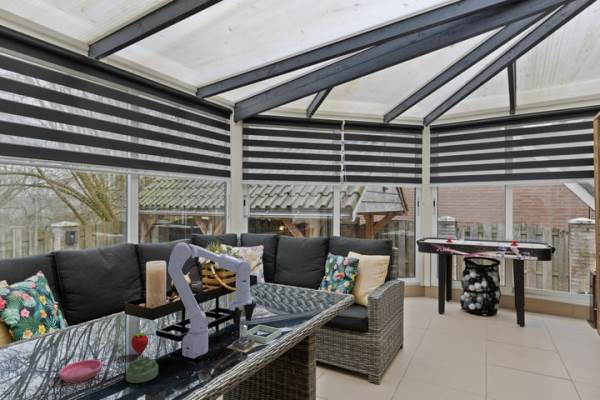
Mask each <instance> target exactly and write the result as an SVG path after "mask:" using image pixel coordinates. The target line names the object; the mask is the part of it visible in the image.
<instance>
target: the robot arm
mask: <svg viewBox="0 0 600 400" xmlns="http://www.w3.org/2000/svg"><path fill="white" fill-rule="evenodd" d="M190 257H191V259H194V258H195V259H196V258H199V257H200V258H202V259H205V260H209V261H211V262H215V263H217V266H218V267H219V268H222V269H223V270H227V271H229V272H232V273H235V301H233V302H232V303H231V304H229V308H228V312H229V314H230V316H231V318H232V320H233V322H234V327H239V328H240V325H241V322H240V318H241V317H242V313H243V309H240V308H242V307H243V308H244V312H245V314H244V316H245V318H246V320H245V321H247V322H251V321H252V319H253V318H252V314H254V312H255V311H254V310H255V308H256V306H257V303H256V297H255V296H251V291H250V290H251V289H250V288H251V286H250V283H251V279H250V274H251V272H252V270H253V269H252V266H251V264H250V263H249V262H247V261H246V260H244V259H242V258H241V257H235V256H233V255H232V254H231V253H223V254H218V253H215V252H213V251H211V250H208V249H205V248H203V247H201V246H199V245H195V244H191V243H187V242H184V241H179V242H177V243H176V244H174V246H173V248H172V250H171V251H170V257H169V262H168V266H167V272H168V274H169V276H170V279H171V281H172V283H173V285H174V287H175V289H176V292H177V293H178V295H179V298H180V299H181V302H182V304H183V305H184V308H185V310H186V313H187V315H188V317H189V322H190V328H189V329H188V333H187V334H185V335H184V336H183V338H182V341H181V343H182V344H181V346H182V351H181V352H182V353H181V355H182V356H184V357H187V358H189V359H195V358H197V357H198V358H199V356H203V355H205V354H207V353H208V351H209V327H208V326H209V321H208V319H207V315H206V313H205V312H204V311H203V310H202V309H201V308H200V306H199V304H198V302H197V300H196V298H195V296H194V293H193V292H192V290H191V287H190V285H189V283H188V281H187V278H186V277H185V274H184V273H183V270H182V269H183V267H184V265H185V263H186V262H187V261H188V259H190Z"/></svg>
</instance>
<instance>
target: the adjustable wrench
mask: <svg viewBox="0 0 600 400" xmlns="http://www.w3.org/2000/svg"><path fill="white" fill-rule="evenodd" d="M269 311H270V310H266V311H264V309H259V310H256V311H254V312H253V314H252V318H251V319H253V318H256V317H261V316H263V317H264V316H268V315H269V314H270V312H269ZM244 321H246V318H245V315H244V316H241V318H240V323H241V322H244ZM233 324H234V322H233V319H231V320H228V323H227V325H233Z"/></svg>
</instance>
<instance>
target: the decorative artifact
mask: <svg viewBox="0 0 600 400" xmlns="http://www.w3.org/2000/svg"><path fill="white" fill-rule="evenodd" d="M129 364H130V366H129V367H127V368H126V370H125V380H126V382H128V383H133V384H139V383H145V382H148V381H150V380H153V379H154V378H156V377H157V376H158V375H159V364H158V362H156V359H154V358H153V359H151V358H150V357H148V356H144V354H141V356H140V357H138V359H134V360H133V361H131V362H130V363H129Z"/></svg>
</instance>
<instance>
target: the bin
mask: <svg viewBox="0 0 600 400" xmlns="http://www.w3.org/2000/svg"><path fill="white" fill-rule="evenodd" d="M259 331H261V332H262V331H263V332H266V333H271V334H269V335H267V336H261V335H255V334H256V333H257V332H259ZM280 336H282V328H277V327H272V326H268V325H262V324H258V325H256V326H254V327H252V328H250V329H249V330H248V329H247V339H252V340H255V342H257V343H261V344H269V343H270V342H272V341H273V340H274V339H276V338H277V337H280Z"/></svg>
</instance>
